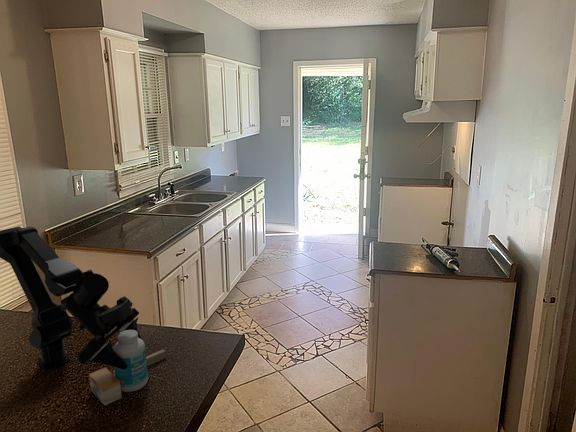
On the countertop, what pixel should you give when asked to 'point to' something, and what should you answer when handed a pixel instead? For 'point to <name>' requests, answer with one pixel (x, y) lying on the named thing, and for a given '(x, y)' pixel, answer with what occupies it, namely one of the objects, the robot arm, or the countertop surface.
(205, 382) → the countertop surface
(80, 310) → the robot arm
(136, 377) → the pill bottle
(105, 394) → the block
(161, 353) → the rail
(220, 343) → the countertop surface
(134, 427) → the countertop surface
